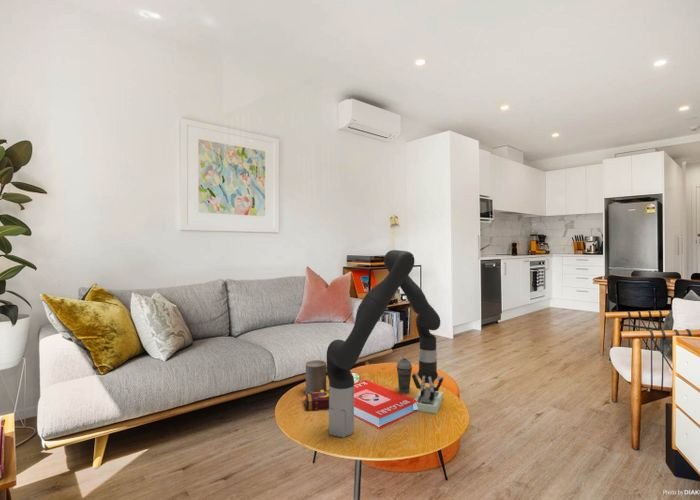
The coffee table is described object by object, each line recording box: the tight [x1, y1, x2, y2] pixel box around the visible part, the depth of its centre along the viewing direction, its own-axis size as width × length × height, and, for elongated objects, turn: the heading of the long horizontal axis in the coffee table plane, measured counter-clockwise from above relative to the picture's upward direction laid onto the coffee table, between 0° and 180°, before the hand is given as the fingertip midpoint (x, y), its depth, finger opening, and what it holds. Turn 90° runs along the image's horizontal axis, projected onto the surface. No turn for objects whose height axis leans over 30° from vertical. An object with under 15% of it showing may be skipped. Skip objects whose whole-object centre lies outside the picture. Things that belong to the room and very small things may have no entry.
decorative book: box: [302, 389, 329, 412], centre depth 168 cm, size 11×16×5 cm
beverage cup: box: [396, 348, 413, 395], centre depth 182 cm, size 7×7×20 cm
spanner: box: [421, 386, 436, 404], centre depth 168 cm, size 13×4×3 cm, turn 158°
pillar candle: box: [305, 359, 327, 391], centre depth 181 cm, size 10×10×15 cm
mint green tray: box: [413, 389, 444, 415], centre depth 168 cm, size 17×10×3 cm, turn 158°
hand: (427, 399), depth 167 cm, fingers closed on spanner, 3 cm apart
